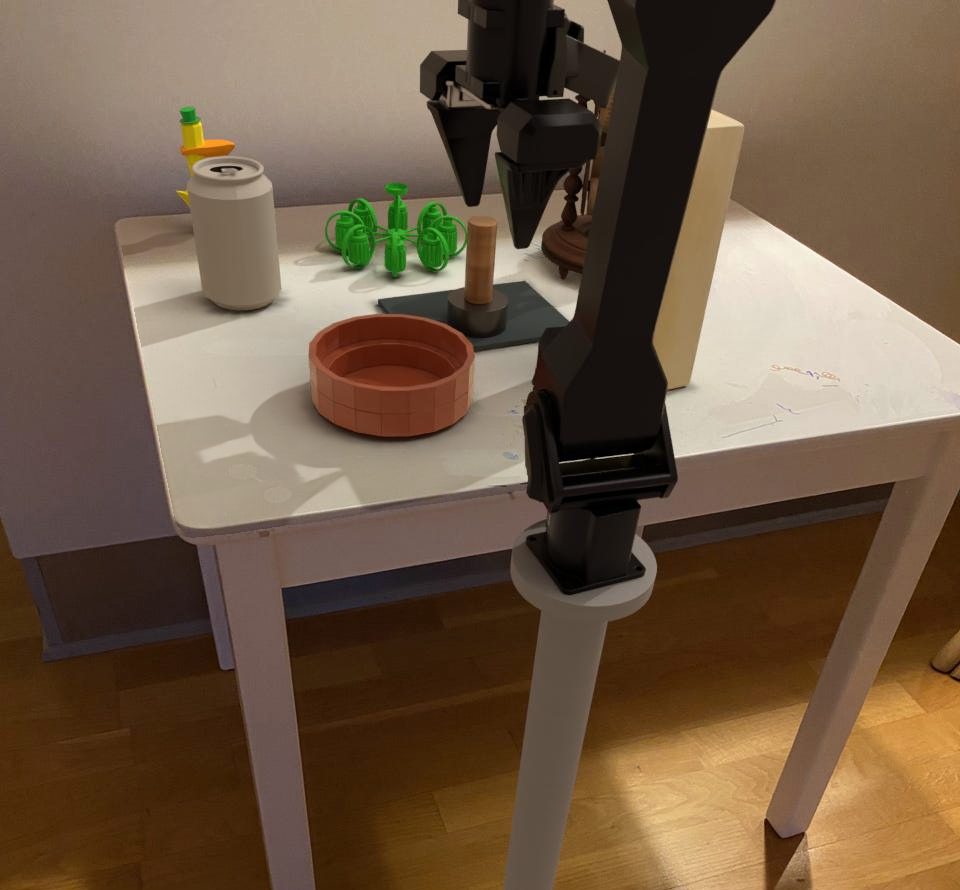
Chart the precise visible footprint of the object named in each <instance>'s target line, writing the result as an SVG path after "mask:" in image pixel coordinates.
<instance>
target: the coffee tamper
mask: <svg viewBox="0 0 960 890" xmlns="http://www.w3.org/2000/svg"><path fill="white" fill-rule="evenodd" d="M466 230H467V243H466V247H465V248H466V249H465V268H464V269H465V273H464V286H463V287H458V288H456V290H455V289H453V290H454V291H452V292H451V293H450V294H449V295H448V309H447V325H448V326H450V327H452V328H454V329H456V330H457V331H459V332H461V333H462V334H464V336H467V337H473V338H487V337H493V336H496V335H499V334H501V333H502V332H503V331H504V330H505V329H506V323H507V310H508V298H507V297H506V296H505V295H504V294H503V293H501V292H500V291H497V290H495V289H493V285H494V281H495V280H494V279H495V264H496V263H495V262H496V249H497V237H498V236H497V234H498V220H497V219H496V218H494V217H491V216H488V215H474V216H470V217H469V218H468V219H467V227H466Z"/></svg>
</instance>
